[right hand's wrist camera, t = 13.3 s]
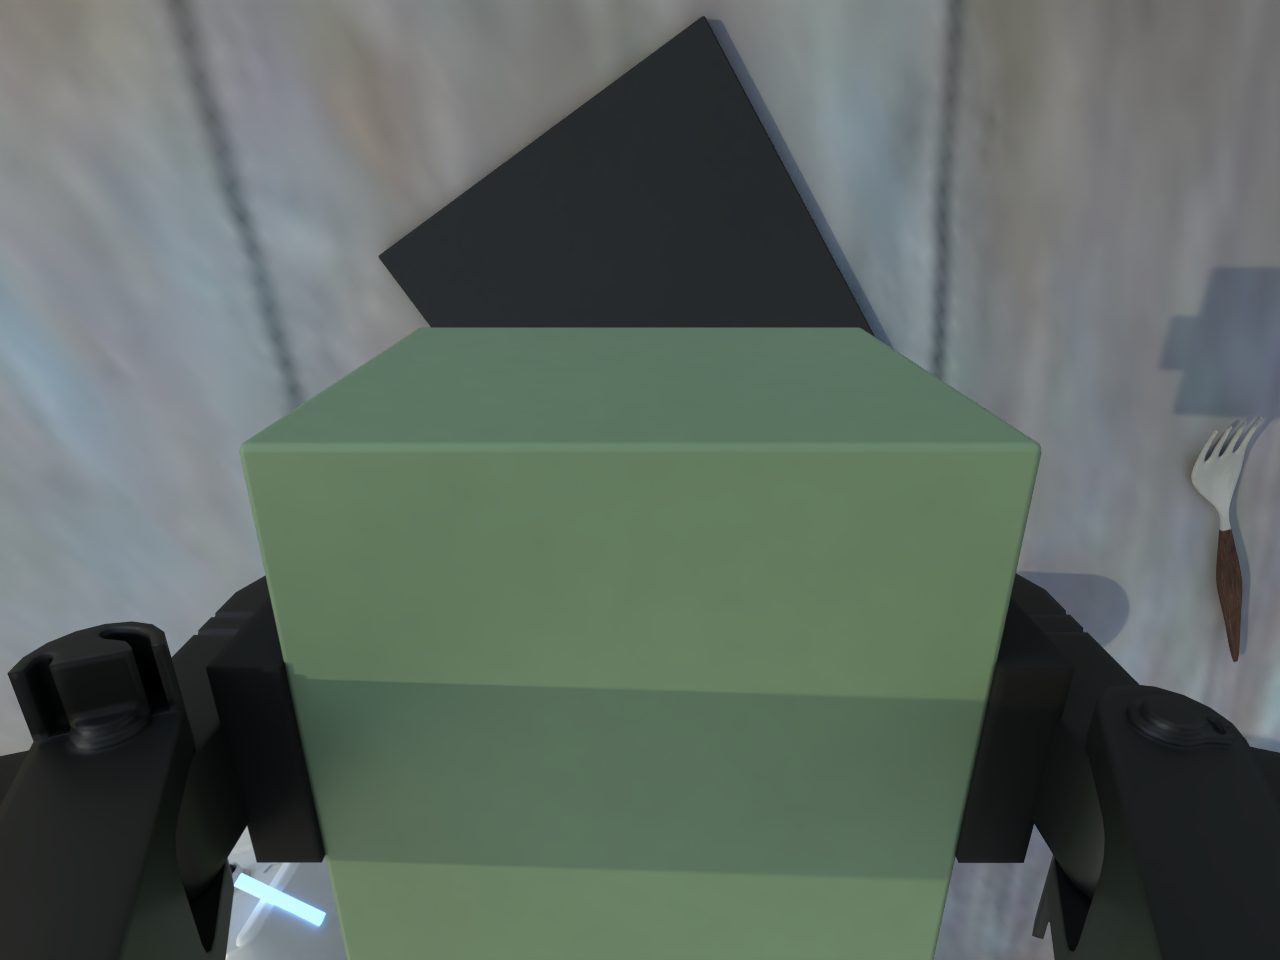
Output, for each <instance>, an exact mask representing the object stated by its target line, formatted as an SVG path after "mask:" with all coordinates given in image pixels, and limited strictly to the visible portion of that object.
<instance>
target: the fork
mask: <svg viewBox="0 0 1280 960" xmlns="http://www.w3.org/2000/svg"><path fill="white" fill-rule="evenodd" d="M1262 419H1263V417H1262V416H1259V417H1258V419H1257V420H1256V421H1255V423H1254V424H1253V426H1252V427H1251V429H1250V430H1249V431H1248V433H1247V434H1246V436H1245V438H1244V439H1243V441H1242V443H1241V444H1240V446H1239V448H1238V449H1237V450H1236V451H1235V452H1233V449H1234V446H1235V444H1236V442H1237V440H1238V438H1239V436H1240V435H1241V433H1242V431H1243V429H1244V428H1245V426H1246V425H1247V422H1246V421H1244V422H1243V423H1242V425H1241V426H1240V428H1239V429H1238V431H1237V432H1236V434H1235V435H1234V437H1233V438H1232V440H1231V441H1230V443H1229V445H1228V446H1227V448H1226V450H1225V452H1224V453H1223V454H1222V455H1221V456H1220V457H1218V456H1219V452H1220V450H1221V448H1222V446H1223V444H1224V442H1225V440H1226V438H1227V436H1228V434H1229V433H1230V431H1231V430H1232V426H1231V425H1230V426H1229V427H1228V428H1227V430H1226V431H1225V433H1224V434H1223V436H1222V437H1221V439H1220V440H1219V442H1218V443H1217V445H1216V447H1215V449H1214V450H1213V452H1212V454H1211V456H1210V457H1209V459H1208V460H1206V461H1204V459H1205V456H1206V454H1207V452H1208V449H1209V447H1210V445H1211V443H1212V441H1213V439H1214V438H1215V436H1216V434H1217V433H1218V431H1217V430H1214V432H1213V433H1212V435H1211V436H1210V438H1209V439H1208V441H1207V442H1206V444H1205V446H1204V447H1203V449H1202V451H1201V453H1200V454H1199V456H1198V458H1197V461H1196V463H1195V465H1194V467H1193V470H1192V474H1191V480H1192V483H1193V485H1194V487H1195V488H1196V490H1197V491H1198V492H1199V493H1200V494H1201V495H1202V496H1203V497H1204V498H1206V499H1207V500H1208V501H1209V502H1210V503H1211V504H1212V505H1213V506H1214V507H1215V508H1216V509H1217V511H1218V513H1219V518H1220V527H1219V541H1218V553H1217V568H1216V580H1217V589H1218V594H1219V599H1220V603H1221V607H1222V611H1223V615H1224V620H1225V626H1226V631H1227V637H1228V642H1229V647H1230V652H1231V656H1232V659H1233V661H1234V662H1236V661H1237V660H1238V656H1239V643H1240V618H1241V603H1242V578H1241V571H1240V566H1239V561H1238V557H1237V552H1236V548H1235V544H1234V540H1233V535H1232V531H1231V526H1230V521H1229V507H1230V502H1231V499H1232V495H1233V492H1234V489H1235V486H1236V484H1237V481H1238V478H1239V474H1240V471H1241V468H1242V464H1243V459H1244V455H1245V451H1246V448H1247V445H1248V443H1249V441H1250V439H1251V437H1252V435H1253V433H1254V431H1255V430H1256V428H1257V426H1258V425H1259V423H1260V422H1261V420H1262Z"/></svg>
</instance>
